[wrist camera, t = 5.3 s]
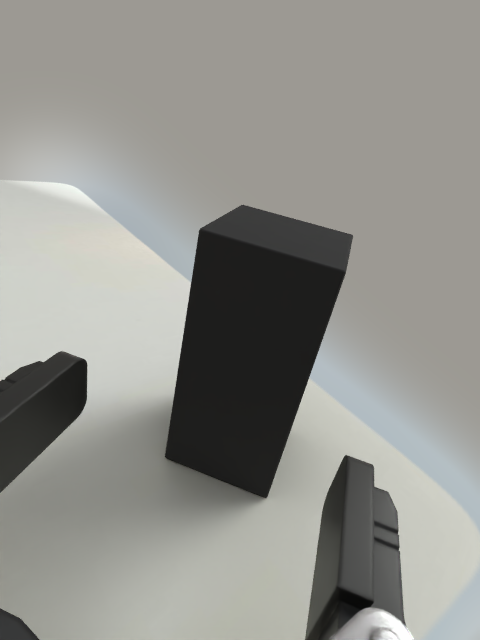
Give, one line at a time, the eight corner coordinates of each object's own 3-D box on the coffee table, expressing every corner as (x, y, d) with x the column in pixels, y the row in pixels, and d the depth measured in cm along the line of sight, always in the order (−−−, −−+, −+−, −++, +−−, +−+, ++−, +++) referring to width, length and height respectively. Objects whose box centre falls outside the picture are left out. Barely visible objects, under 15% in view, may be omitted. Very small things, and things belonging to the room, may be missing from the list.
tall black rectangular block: (287, 426, 22) (353, 234, 17) (266, 499, 18) (346, 271, 12) (203, 395, 23) (241, 204, 18) (163, 458, 18) (198, 228, 13)
